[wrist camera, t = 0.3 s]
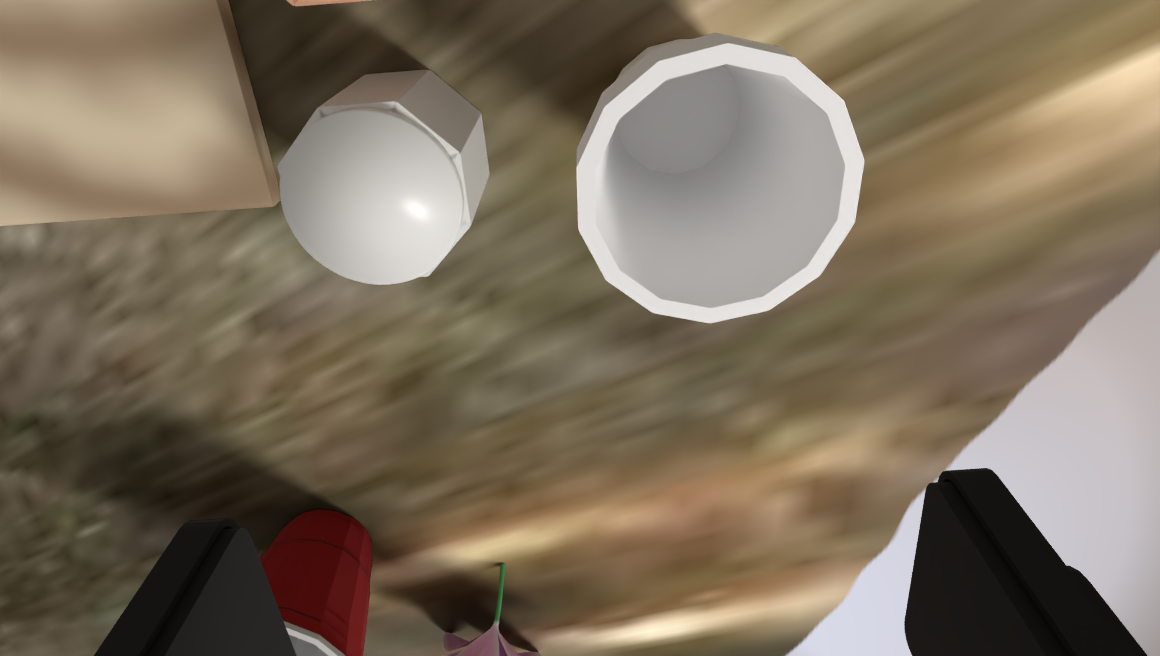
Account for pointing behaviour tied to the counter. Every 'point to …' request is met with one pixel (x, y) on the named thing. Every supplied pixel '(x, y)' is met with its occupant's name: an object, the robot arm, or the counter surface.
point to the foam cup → (716, 178)
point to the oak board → (126, 111)
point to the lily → (485, 637)
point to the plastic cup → (322, 582)
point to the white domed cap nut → (385, 177)
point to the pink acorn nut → (318, 2)
